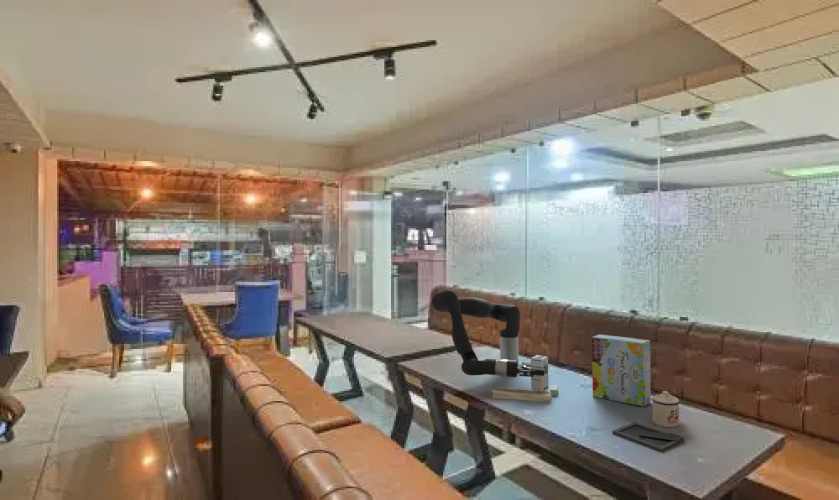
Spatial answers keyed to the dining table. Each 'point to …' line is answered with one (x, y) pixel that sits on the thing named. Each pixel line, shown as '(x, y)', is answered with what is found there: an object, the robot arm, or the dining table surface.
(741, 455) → the dining table surface
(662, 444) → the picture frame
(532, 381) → the syrup box
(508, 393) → the birch board
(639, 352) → the snack box
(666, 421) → the teacup with lid
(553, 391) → the stop block
